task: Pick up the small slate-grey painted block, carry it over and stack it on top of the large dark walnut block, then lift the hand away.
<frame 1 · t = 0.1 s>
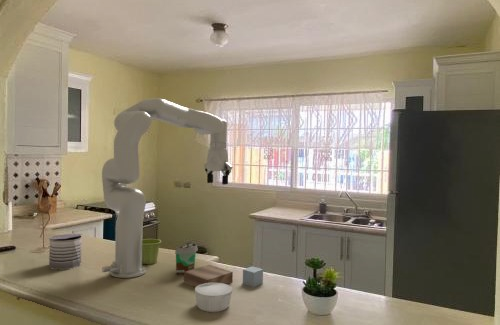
hand: (217, 183, 172), 31 cm above the counter, tool pointing down, fingers open, 9 cm apart
can: (65, 266, 146), on the counter
plant pot: (148, 262, 153), on the counter
ramekin: (213, 306, 111), on the counter
food container: (188, 271, 143), on the counter
slate block: (252, 283, 131), on the counter
walnut block: (208, 283, 131), on the counter
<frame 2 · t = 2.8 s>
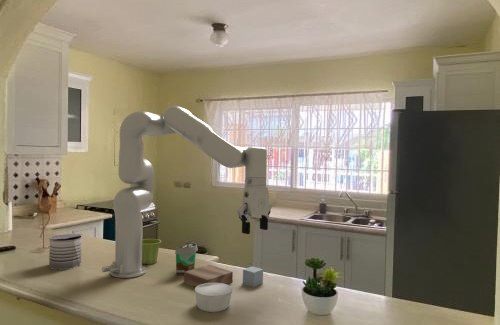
hand: (255, 231, 131), 18 cm above the counter, tool pointing down, fingers open, 9 cm apart
nothing on the counter moved.
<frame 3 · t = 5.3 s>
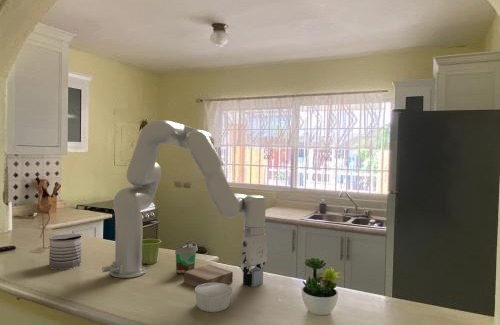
hand: (252, 281, 131), 0 cm above the counter, tool pointing down, fingers closed on slate block, 5 cm apart
slate block: (252, 283, 131), on the counter, touching gripper
everything else where it was.
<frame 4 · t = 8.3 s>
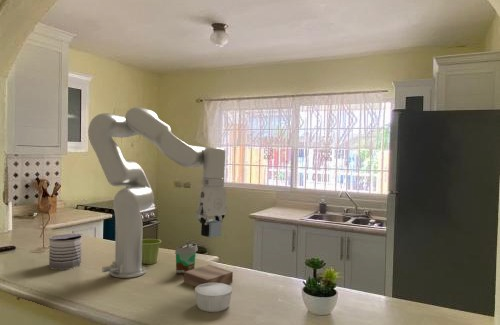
hand: (210, 234, 131), 17 cm above the counter, tool pointing down, fingers closed on slate block, 5 cm apart
slate block: (210, 235, 131), point 16 cm above the counter, touching gripper
everything else where it was.
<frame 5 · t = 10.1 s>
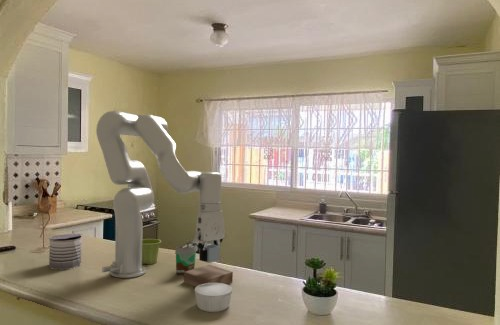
hand: (209, 258, 131), 8 cm above the counter, tool pointing down, fingers closed on slate block, 5 cm apart
slate block: (209, 260, 131), point 8 cm above the counter, touching gripper
everything else where it was.
when the fingers open (6 cm above the counter, at t = 11.4 s): slate block drops 2 cm, resting on walnut block.
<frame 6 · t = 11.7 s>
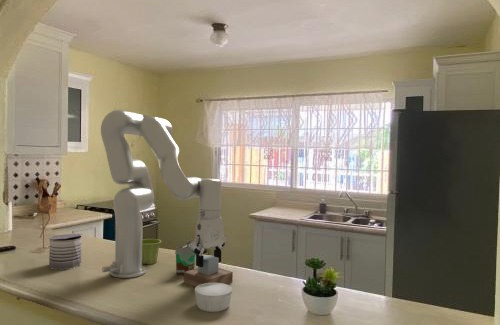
hand: (208, 263, 131), 6 cm above the counter, tool pointing down, fingers open, 8 cm apart
slate block: (208, 272, 131), point 4 cm above the counter, touching walnut block
walnut block: (208, 283, 131), on the counter, touching slate block
everything else where it was.
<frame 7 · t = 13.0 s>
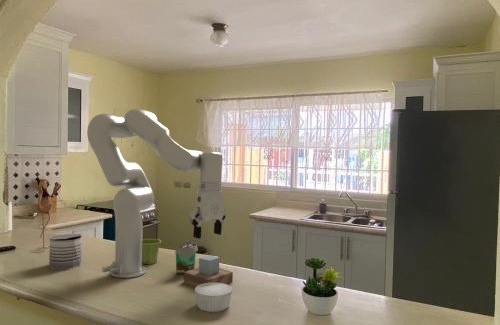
hand: (207, 235, 131), 16 cm above the counter, tool pointing down, fingers open, 9 cm apart
nothing on the counter moved.
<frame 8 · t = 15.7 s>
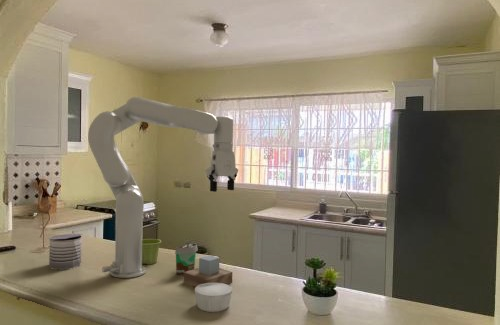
hand: (222, 190, 149), 30 cm above the counter, tool pointing down, fingers open, 9 cm apart
nothing on the counter moved.
at the end: slate block inside the target area on the walnut block (0.4 cm from its centre), point 4.0 cm above the walnut block's base; slate block tilted 0°; the gripper is holding nothing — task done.
